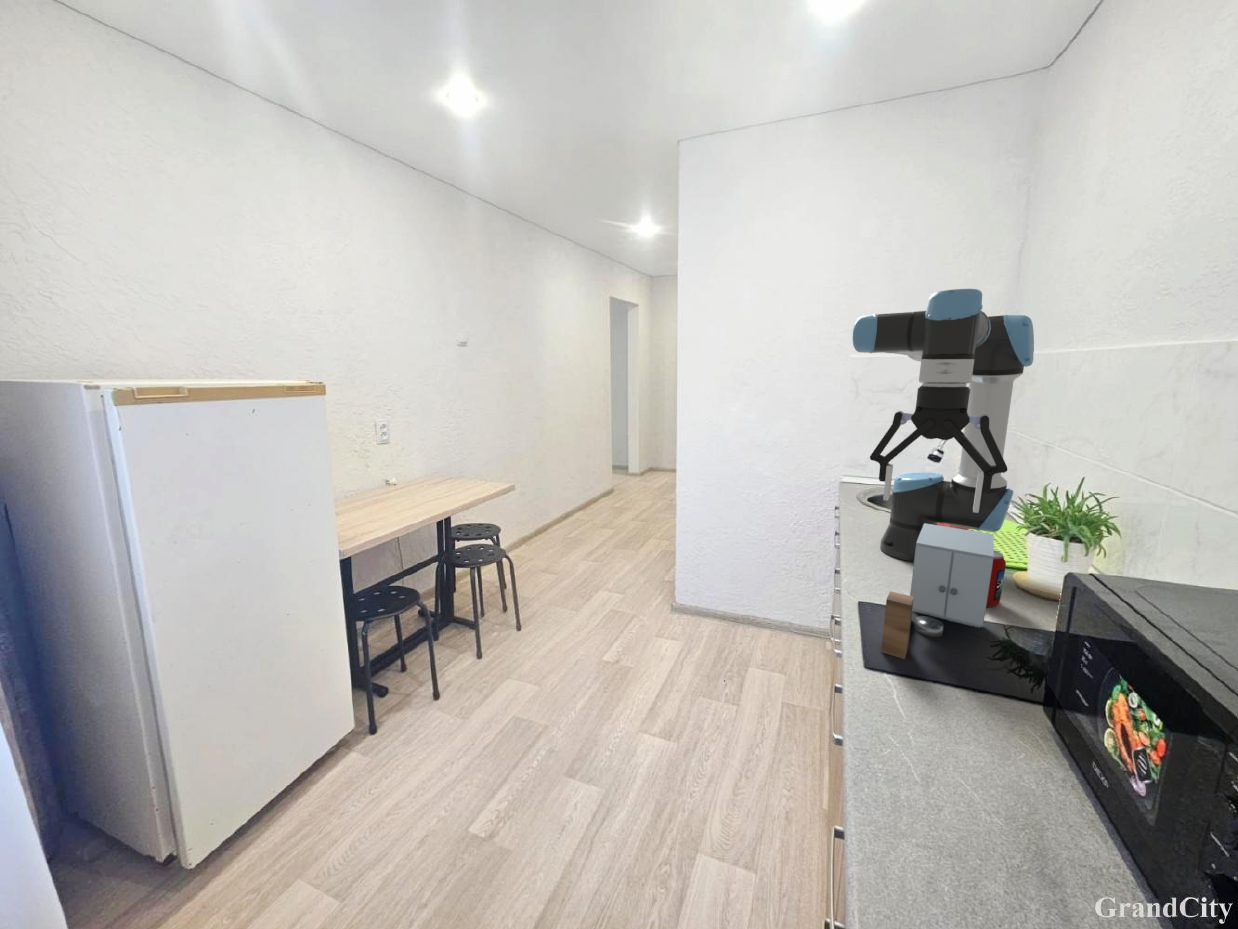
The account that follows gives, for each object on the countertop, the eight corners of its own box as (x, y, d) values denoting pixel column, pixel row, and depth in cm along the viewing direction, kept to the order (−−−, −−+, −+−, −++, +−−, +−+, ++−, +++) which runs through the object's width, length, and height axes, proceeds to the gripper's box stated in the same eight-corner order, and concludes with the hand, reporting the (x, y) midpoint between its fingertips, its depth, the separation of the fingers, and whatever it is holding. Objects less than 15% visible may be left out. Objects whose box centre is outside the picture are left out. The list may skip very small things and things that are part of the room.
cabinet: (913, 607, 109) (924, 523, 105) (979, 624, 102) (993, 534, 98) (904, 638, 97) (915, 544, 93) (978, 659, 90) (993, 558, 86)
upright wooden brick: (894, 615, 106) (899, 568, 104) (915, 620, 104) (921, 572, 102) (880, 651, 93) (886, 599, 91) (904, 659, 91) (911, 605, 89)
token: (915, 622, 104) (916, 613, 103) (943, 629, 101) (944, 620, 100) (912, 632, 100) (913, 624, 99) (941, 640, 97) (942, 631, 96)
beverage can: (1005, 610, 108) (1013, 559, 105) (971, 607, 109) (978, 557, 107) (989, 596, 114) (997, 547, 112) (957, 593, 116) (964, 546, 113)
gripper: (859, 384, 87) (849, 498, 91) (1041, 387, 73) (1019, 522, 77) (867, 383, 93) (857, 490, 97) (1036, 385, 79) (1016, 510, 83)
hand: (929, 504), depth 87 cm, fingers open, 13 cm apart
